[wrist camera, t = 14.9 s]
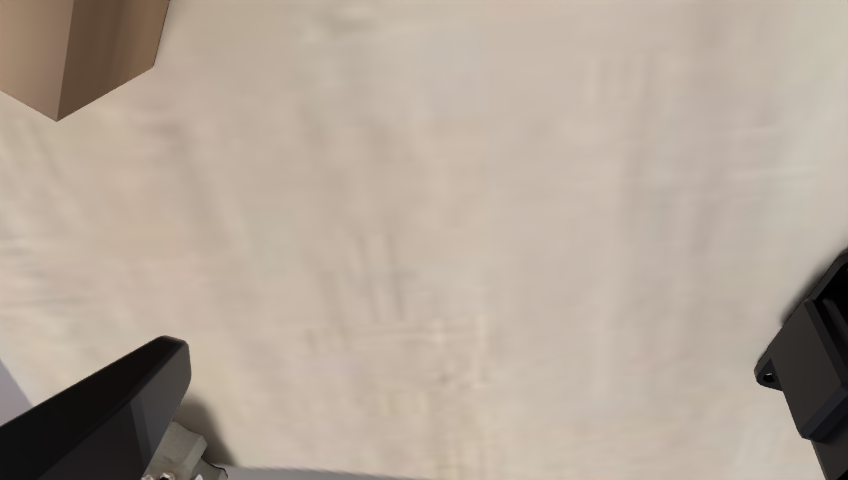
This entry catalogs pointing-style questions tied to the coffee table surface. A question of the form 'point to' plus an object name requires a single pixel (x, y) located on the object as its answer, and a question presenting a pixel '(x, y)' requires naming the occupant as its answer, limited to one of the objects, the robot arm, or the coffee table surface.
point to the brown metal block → (75, 49)
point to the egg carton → (182, 458)
